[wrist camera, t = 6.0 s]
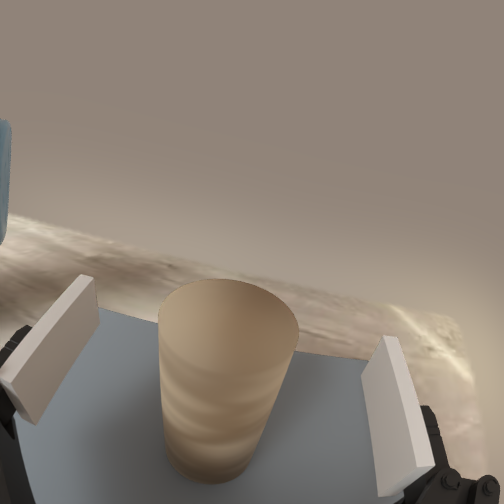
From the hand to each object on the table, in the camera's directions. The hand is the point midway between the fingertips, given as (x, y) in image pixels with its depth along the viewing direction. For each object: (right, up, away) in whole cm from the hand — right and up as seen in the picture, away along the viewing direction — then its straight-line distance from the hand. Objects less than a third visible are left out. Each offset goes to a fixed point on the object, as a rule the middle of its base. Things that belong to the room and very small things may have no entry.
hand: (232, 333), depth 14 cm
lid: (-2, -8, +1) cm, 8 cm away
